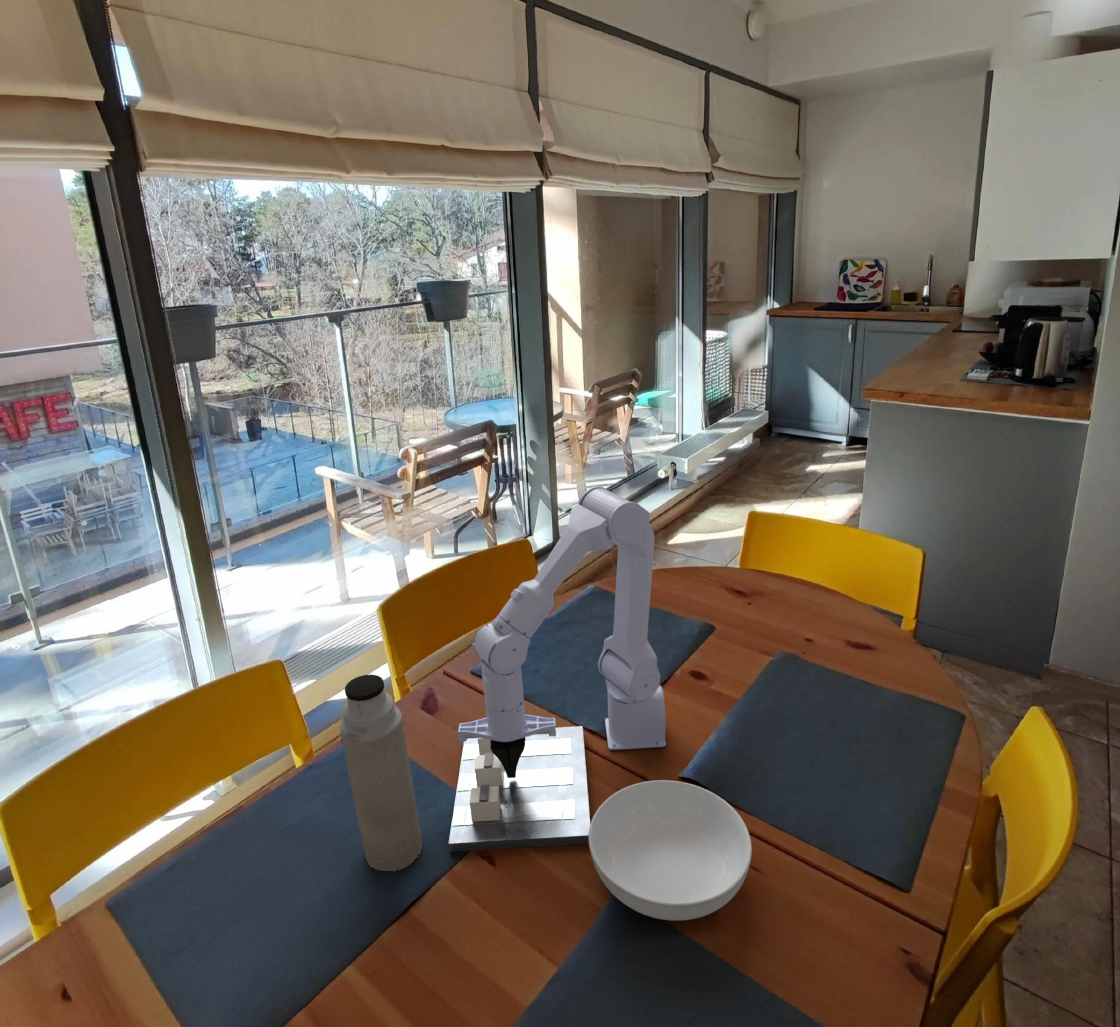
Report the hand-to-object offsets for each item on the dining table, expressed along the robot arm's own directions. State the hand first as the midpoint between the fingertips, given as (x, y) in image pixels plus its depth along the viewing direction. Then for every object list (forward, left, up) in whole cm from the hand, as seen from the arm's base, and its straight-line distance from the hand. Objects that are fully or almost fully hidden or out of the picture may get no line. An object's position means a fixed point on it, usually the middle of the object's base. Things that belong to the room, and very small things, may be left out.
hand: (511, 773), depth 114 cm
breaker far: (+3, -7, -1) cm, 8 cm away
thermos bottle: (+16, +11, -3) cm, 20 cm away
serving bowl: (-22, +18, -3) cm, 28 cm away
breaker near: (+4, +7, -1) cm, 8 cm away
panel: (-2, 0, -3) cm, 3 cm away
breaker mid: (+3, 0, -1) cm, 4 cm away
